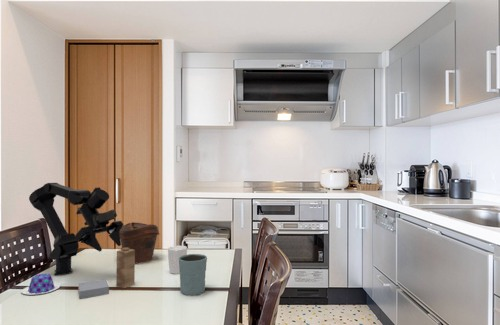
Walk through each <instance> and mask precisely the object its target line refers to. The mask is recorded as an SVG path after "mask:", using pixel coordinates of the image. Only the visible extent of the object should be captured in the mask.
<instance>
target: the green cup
mask: <svg viewBox="0 0 500 325" xmlns="http://www.w3.org/2000/svg"><path fill="white" fill-rule="evenodd" d="M207 261H208V256H207V255H205V254H201V253H190V254H187V255H183V256H181V257H179V268H180V269H179V271H180V273H179V282H180V284H179V285H180V286H179V288H180V293H181V294H182V295H185V296H198V295H202V294H204V293H205V289H206V271H207Z"/></svg>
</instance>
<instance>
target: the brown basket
mask: <svg viewBox="0 0 500 325" xmlns="http://www.w3.org/2000/svg"><path fill="white" fill-rule="evenodd" d="M119 234H120V241H121V245H120V246H121V248H120V250H122V248H126V247H128V248H129V249H133V250H135V264H143V263H148V262H150V261H151V260H153V258H154V252H155V248H156V242H157V238H158V235H161V234H160V232H159V227H158V226H157V225H156V224H147V223H142V222H132V221H131V222H128V223H126V224H123V226H122V228H121V229H120V232H119Z"/></svg>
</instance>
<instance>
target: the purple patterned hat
mask: <svg viewBox="0 0 500 325" xmlns="http://www.w3.org/2000/svg"><path fill="white" fill-rule="evenodd" d="M30 279H31V280H30V283H29V286H27V287H24V288H23V289H22V290H21V294H24V295H29V296H30V295H31V296H33V295H42V294H47V293H50V292H54V291H55V290H58V289H59V288H60V287H61V285H62V284H61V283H59V282H54V281H53V277H52V274H50V273H46V272H45V273H39V274H35V275H33V276H32V277H31V278H30Z"/></svg>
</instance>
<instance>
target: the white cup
mask: <svg viewBox="0 0 500 325" xmlns="http://www.w3.org/2000/svg"><path fill="white" fill-rule="evenodd" d="M167 252H168V254H167V255H168V256H167V257H168V268H169V273H170V274H173V275H174V274H175V275H176V274H177V275H178V274H180V271H179V269H180V268H179V257H181V256H183V255H188V254H187V252H188V246H186V245H172V246H169V247H167Z"/></svg>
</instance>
